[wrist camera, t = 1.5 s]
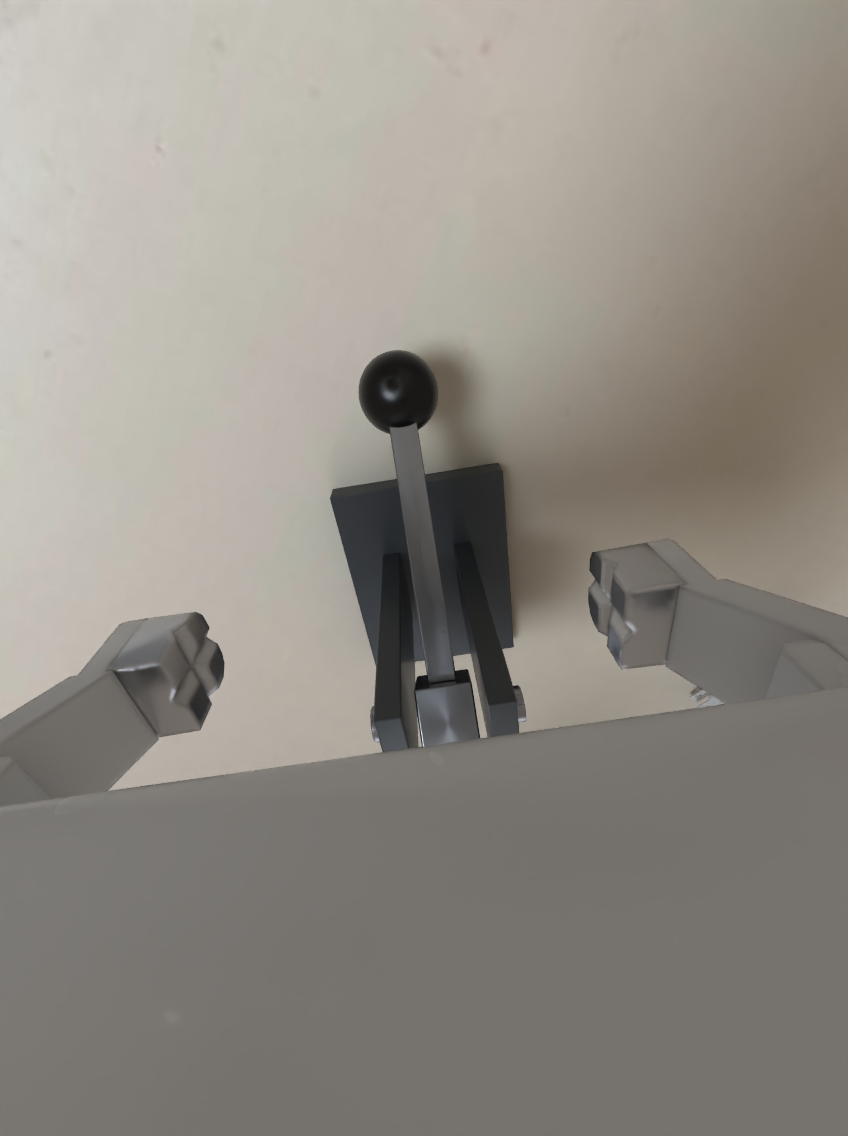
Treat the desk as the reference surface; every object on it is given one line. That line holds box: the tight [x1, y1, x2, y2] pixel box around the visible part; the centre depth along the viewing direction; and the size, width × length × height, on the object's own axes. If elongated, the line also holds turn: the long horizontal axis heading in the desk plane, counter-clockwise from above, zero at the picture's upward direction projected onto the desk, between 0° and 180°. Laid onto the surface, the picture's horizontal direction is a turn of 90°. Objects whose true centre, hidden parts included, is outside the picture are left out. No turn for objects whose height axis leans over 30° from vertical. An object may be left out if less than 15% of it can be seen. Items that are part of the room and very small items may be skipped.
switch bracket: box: [330, 463, 526, 752], centre depth 23 cm, size 12×9×13 cm
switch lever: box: [359, 350, 480, 747], centre depth 19 cm, size 16×3×3 cm
